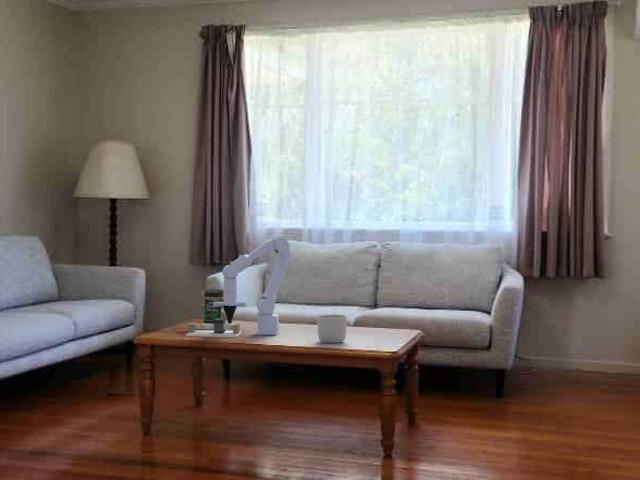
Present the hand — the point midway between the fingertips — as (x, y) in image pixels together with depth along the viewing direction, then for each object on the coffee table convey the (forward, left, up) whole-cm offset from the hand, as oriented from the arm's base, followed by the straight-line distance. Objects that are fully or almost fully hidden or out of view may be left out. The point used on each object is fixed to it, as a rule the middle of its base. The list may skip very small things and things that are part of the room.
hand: (229, 323), depth 352 cm
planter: (-46, +13, -6) cm, 48 cm away
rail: (+7, 0, -5) cm, 9 cm away
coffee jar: (+11, -19, -6) cm, 23 cm away
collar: (+5, 0, -4) cm, 6 cm away
